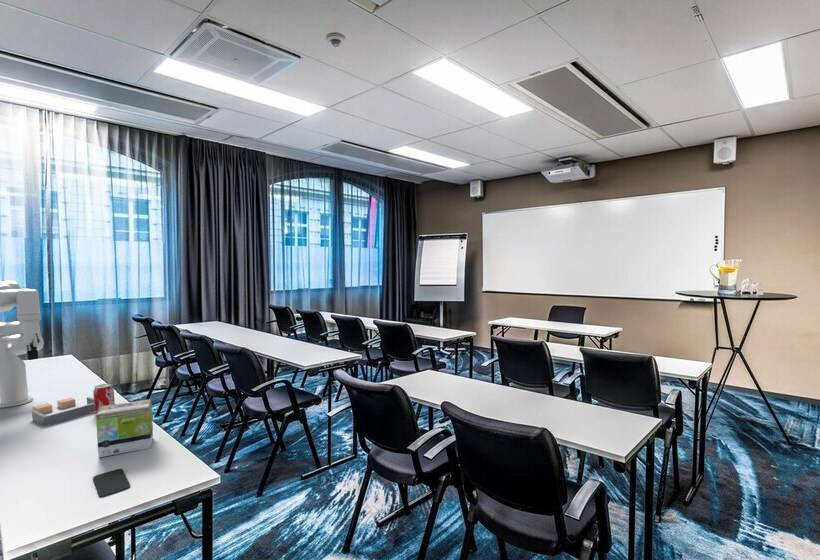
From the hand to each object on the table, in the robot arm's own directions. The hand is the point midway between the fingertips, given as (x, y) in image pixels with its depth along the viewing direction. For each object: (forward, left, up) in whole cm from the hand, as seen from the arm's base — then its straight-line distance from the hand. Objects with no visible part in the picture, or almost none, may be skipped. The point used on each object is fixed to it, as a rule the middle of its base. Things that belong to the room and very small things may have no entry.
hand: (32, 359), depth 186 cm
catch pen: (+21, +4, -22) cm, 31 cm away
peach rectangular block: (+8, +8, -23) cm, 25 cm away
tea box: (+80, 0, -23) cm, 83 cm away
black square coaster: (+101, -14, -23) cm, 104 cm away
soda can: (+35, +12, -23) cm, 43 cm away
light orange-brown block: (+7, 0, -23) cm, 24 cm away
